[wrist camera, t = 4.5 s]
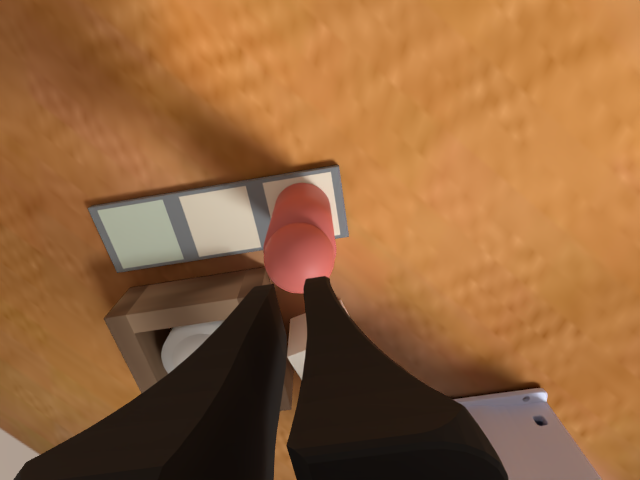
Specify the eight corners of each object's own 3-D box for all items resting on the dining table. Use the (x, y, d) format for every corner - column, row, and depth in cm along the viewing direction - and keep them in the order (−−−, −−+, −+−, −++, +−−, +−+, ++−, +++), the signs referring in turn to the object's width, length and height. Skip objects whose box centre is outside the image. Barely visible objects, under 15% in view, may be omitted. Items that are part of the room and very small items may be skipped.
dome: (246, 293, 22) (233, 336, 18) (265, 357, 24) (257, 407, 21) (164, 305, 22) (135, 350, 19) (190, 368, 25) (169, 419, 21)
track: (338, 164, 19) (338, 166, 18) (348, 233, 21) (348, 236, 20) (91, 205, 20) (87, 208, 19) (120, 269, 21) (116, 273, 21)
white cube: (340, 298, 23) (345, 335, 19) (361, 338, 24) (369, 379, 21) (290, 317, 23) (286, 356, 20) (313, 356, 24) (313, 398, 21)
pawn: (325, 178, 19) (333, 231, 12) (334, 230, 20) (344, 303, 14) (269, 187, 19) (247, 245, 13) (281, 239, 20) (266, 315, 14)
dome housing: (266, 266, 21) (259, 295, 19) (293, 372, 25) (291, 409, 22) (129, 287, 22) (103, 318, 19) (175, 388, 25) (158, 427, 22)
